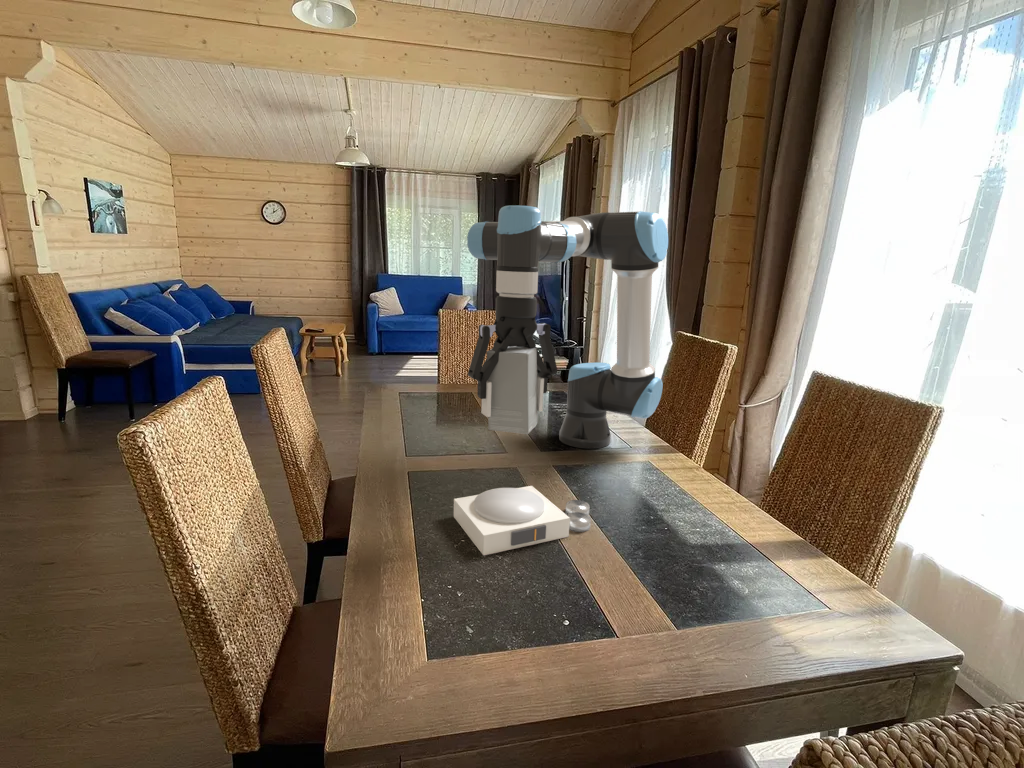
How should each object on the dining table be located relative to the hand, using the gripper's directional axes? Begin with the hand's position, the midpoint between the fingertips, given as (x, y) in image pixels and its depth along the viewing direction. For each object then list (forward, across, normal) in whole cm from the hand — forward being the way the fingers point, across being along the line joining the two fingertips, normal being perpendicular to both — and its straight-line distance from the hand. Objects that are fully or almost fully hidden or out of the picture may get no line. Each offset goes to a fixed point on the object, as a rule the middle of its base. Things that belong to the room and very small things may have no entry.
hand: (512, 412), depth 104 cm
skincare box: (+3, 0, 0) cm, 3 cm away
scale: (+24, 0, 0) cm, 24 cm away
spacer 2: (+24, -13, +6) cm, 28 cm away
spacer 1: (+24, -16, 0) cm, 29 cm away
